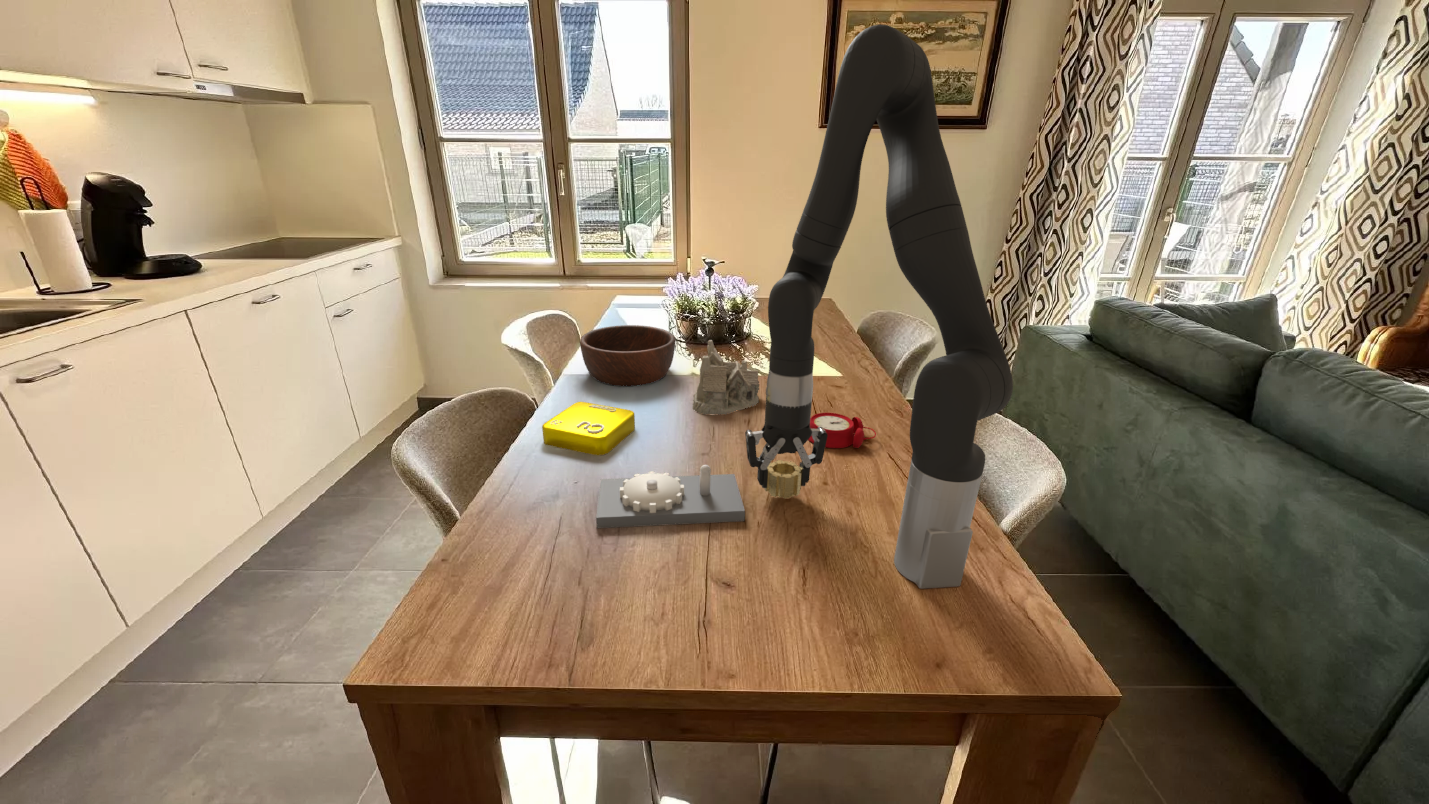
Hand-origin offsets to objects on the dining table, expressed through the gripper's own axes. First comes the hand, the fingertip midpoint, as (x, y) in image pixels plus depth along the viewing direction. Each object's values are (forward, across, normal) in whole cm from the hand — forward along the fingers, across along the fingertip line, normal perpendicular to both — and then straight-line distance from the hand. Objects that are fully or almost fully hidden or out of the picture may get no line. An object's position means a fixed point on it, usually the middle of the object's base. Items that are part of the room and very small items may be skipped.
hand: (782, 484), depth 103 cm
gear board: (+3, -20, 0) cm, 20 cm away
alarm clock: (+3, +18, +22) cm, 29 cm away
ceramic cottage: (+3, -4, +44) cm, 44 cm away
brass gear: (+1, 0, 0) cm, 1 cm away
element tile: (+3, -35, +28) cm, 45 cm away
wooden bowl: (+2, -26, +65) cm, 70 cm away
